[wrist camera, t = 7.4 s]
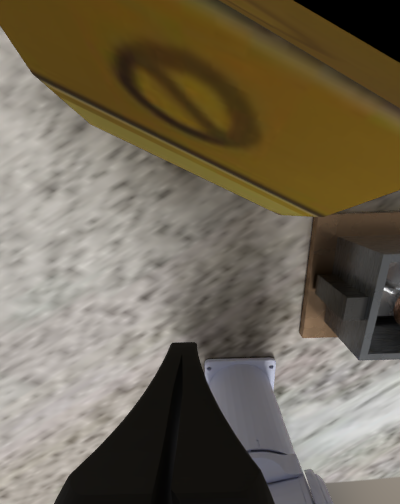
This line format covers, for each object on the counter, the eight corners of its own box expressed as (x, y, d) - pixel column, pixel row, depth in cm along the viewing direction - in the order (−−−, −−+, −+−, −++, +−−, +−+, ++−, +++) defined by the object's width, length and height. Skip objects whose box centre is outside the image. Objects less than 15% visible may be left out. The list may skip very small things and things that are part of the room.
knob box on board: (418, 329, 24) (488, 376, 18) (299, 333, 24) (330, 380, 18) (457, 209, 20) (560, 219, 14) (314, 214, 20) (359, 226, 14)
